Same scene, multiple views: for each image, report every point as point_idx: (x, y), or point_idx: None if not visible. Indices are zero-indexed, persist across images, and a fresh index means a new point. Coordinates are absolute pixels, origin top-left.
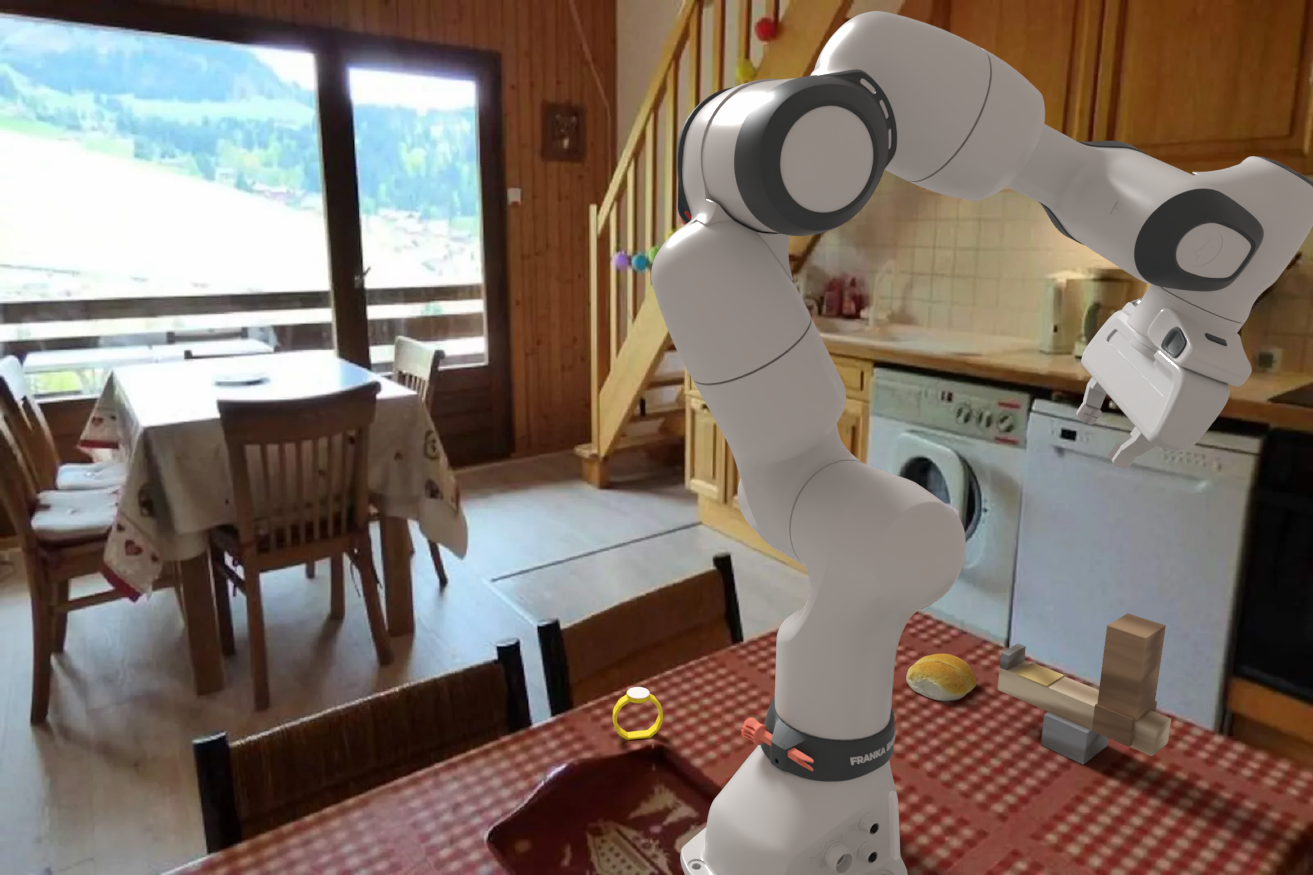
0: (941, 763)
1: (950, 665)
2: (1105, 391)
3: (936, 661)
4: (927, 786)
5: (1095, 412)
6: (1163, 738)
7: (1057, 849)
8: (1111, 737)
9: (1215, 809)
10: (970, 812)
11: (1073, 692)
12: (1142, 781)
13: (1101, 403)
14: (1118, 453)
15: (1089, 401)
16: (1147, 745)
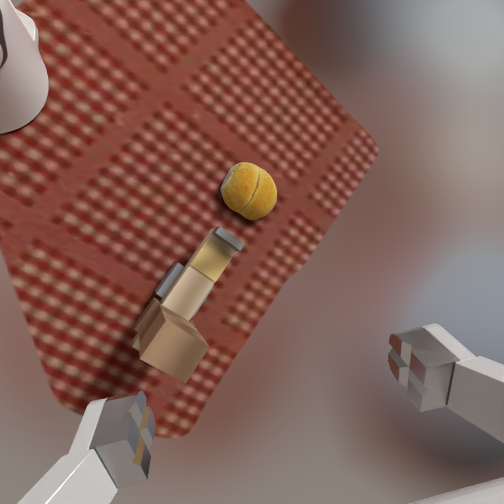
0: (123, 181)
1: (253, 195)
2: (425, 499)
3: (258, 184)
4: (84, 166)
5: (416, 389)
6: None
7: (23, 256)
8: (143, 311)
9: (119, 376)
10: (55, 196)
11: (186, 286)
12: None
13: (473, 420)
14: (79, 433)
15: (469, 380)
16: (135, 338)
